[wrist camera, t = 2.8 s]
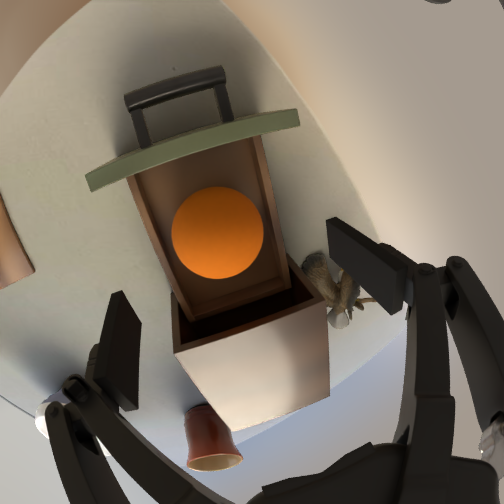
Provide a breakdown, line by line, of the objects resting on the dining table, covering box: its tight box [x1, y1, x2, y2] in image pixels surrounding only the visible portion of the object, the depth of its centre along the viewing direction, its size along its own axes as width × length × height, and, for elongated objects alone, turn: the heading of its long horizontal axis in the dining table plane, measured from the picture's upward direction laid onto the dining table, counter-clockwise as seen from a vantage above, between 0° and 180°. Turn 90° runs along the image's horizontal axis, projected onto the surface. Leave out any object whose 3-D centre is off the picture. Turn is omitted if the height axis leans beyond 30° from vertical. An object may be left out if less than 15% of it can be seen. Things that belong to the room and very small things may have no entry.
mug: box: [184, 405, 243, 471], centre depth 36 cm, size 12×9×10 cm
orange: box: [172, 187, 263, 279], centre depth 21 cm, size 7×7×7 cm
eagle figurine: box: [301, 254, 377, 329], centre depth 31 cm, size 8×7×9 cm
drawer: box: [85, 65, 300, 323], centre depth 21 cm, size 22×14×9 cm, turn 13°
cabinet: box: [171, 254, 330, 432], centre depth 30 cm, size 18×14×9 cm
